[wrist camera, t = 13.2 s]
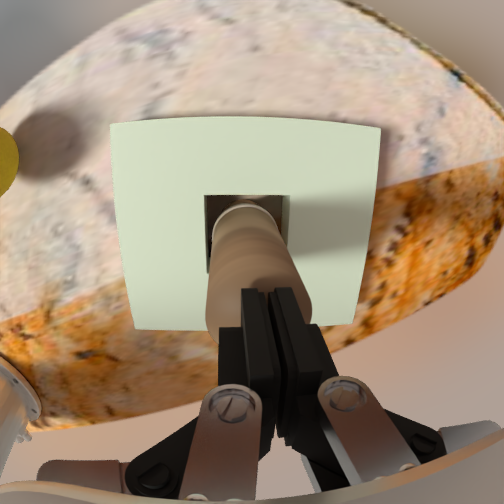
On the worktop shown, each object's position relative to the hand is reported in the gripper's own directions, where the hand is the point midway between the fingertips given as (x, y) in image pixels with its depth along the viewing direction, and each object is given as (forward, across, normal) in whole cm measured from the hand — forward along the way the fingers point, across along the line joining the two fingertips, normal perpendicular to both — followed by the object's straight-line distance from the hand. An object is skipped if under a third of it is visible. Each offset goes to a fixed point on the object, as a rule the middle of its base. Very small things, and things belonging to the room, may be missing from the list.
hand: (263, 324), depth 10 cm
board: (+11, 0, 0) cm, 11 cm away
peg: (+11, 0, 0) cm, 11 cm away
